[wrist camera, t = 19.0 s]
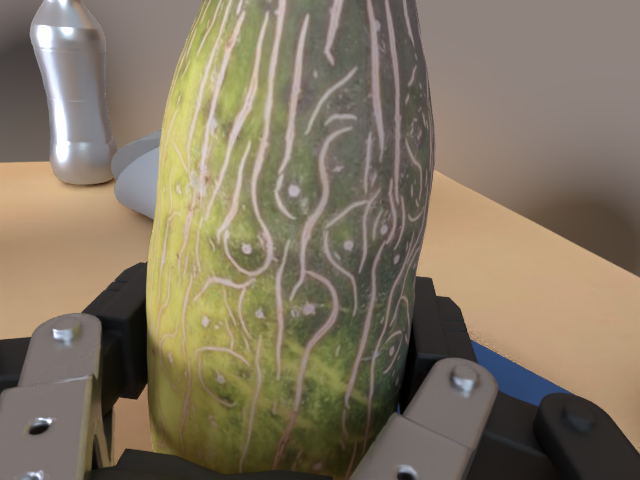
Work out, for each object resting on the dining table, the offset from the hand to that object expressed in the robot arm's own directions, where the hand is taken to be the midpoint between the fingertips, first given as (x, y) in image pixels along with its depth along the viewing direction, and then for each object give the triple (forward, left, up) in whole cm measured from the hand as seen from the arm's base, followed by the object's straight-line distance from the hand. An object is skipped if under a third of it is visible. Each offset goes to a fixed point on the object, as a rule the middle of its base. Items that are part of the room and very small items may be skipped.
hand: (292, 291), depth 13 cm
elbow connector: (-29, +15, -11) cm, 34 cm away
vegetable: (+2, -2, -11) cm, 11 cm away
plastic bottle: (-44, +9, -11) cm, 46 cm away
